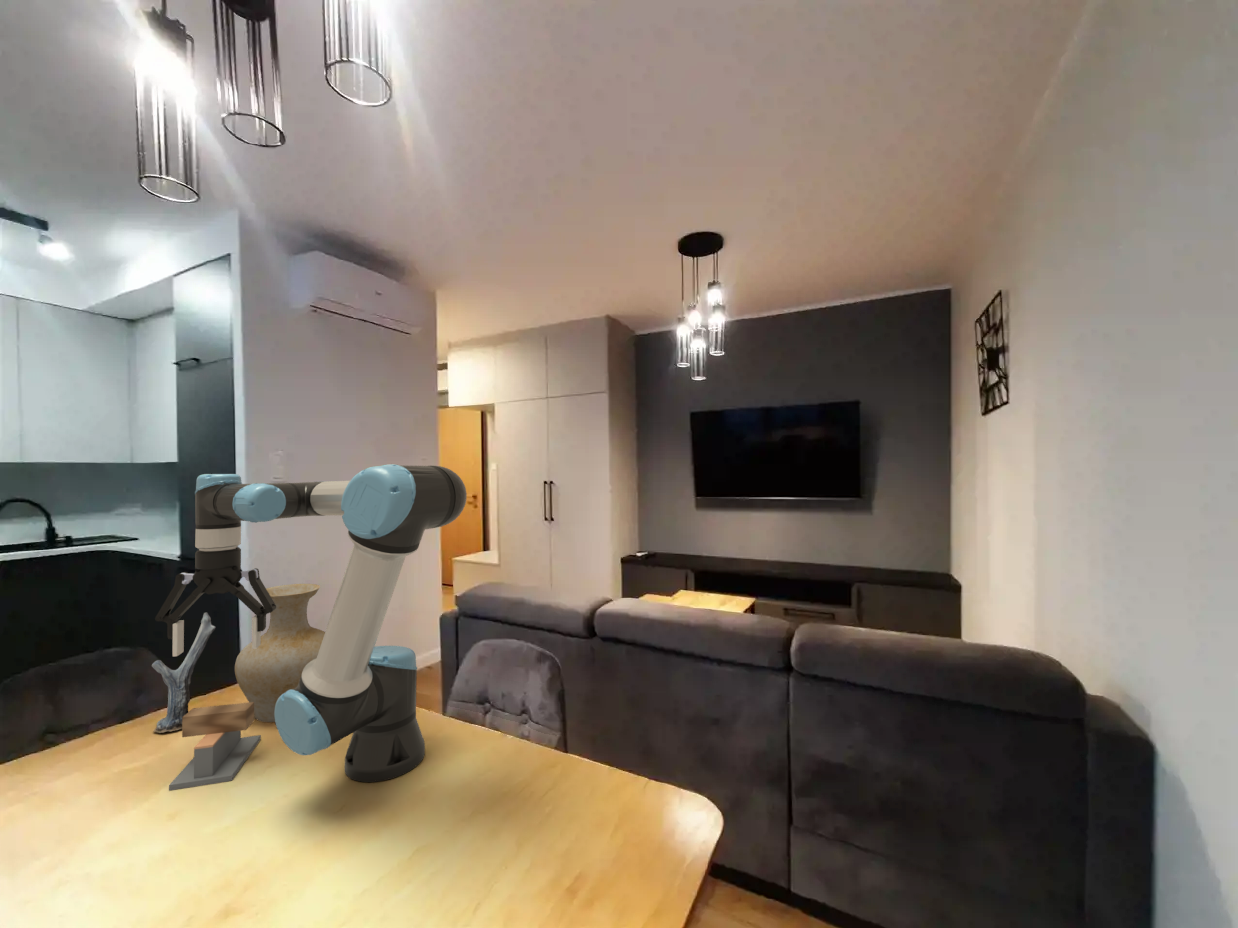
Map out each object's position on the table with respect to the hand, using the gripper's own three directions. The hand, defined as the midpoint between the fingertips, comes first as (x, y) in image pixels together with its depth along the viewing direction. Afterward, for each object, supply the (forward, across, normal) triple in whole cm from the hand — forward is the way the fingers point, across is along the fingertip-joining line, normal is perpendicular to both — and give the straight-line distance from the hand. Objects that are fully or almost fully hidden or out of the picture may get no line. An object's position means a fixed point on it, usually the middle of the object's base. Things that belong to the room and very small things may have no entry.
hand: (218, 650), depth 107 cm
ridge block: (+23, 0, +1) cm, 23 cm away
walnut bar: (+16, -1, +1) cm, 16 cm away
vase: (+23, -7, -22) cm, 33 cm away
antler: (+23, +15, -22) cm, 35 cm away
